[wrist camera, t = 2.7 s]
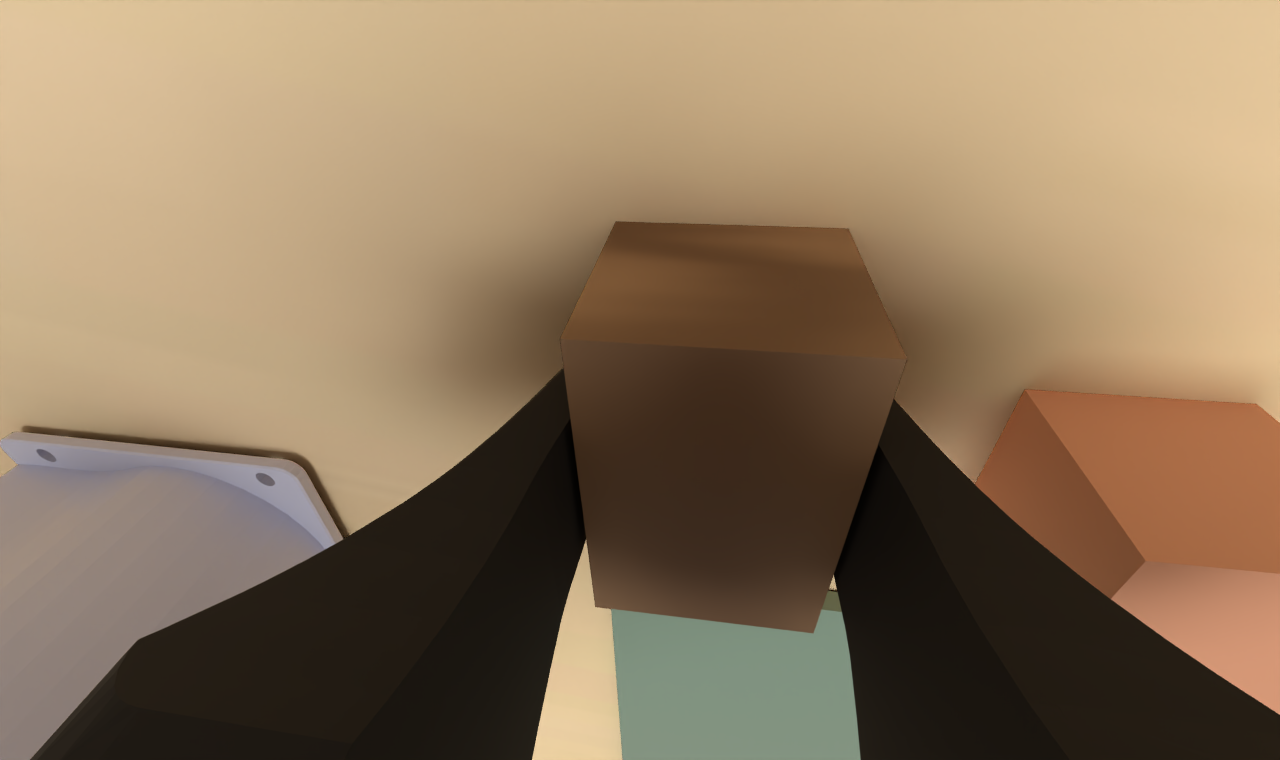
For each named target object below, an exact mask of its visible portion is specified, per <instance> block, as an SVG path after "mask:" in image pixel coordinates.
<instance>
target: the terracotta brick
mask: <svg viewBox="0 0 1280 760" xmlns="http://www.w3.org/2000/svg"><path fill="white" fill-rule="evenodd" d="M975 485H976V486H977V487H978V488H979V489H980V490H981V491H982V492H983V493H984V494H985V495H986V496H988V497H989V498H990V499H991V500H992V501H993V502H994V503H995V504H996V505H997V506H998V507H999V508H1000V509H1002V510H1003V511H1004V512H1005V513H1006V514H1007V515H1008V516H1009V517H1010V518H1011V519H1012V520H1014V521H1015V522H1016V523H1017V524H1018V525H1019V526H1020V527H1022V528H1023V529H1024V530H1025V531H1026V532H1027V533H1028V534H1030V535H1031V536H1032V537H1033V538H1034V539H1036V540H1037V541H1038V542H1039V543H1040V544H1042V545H1043V546H1044V547H1045V548H1047V549H1048V550H1049V551H1050V552H1051V553H1053V554H1054V555H1055V556H1056V557H1058V558H1059V559H1060V560H1061V561H1062V562H1064V563H1065V564H1066V565H1067V566H1069V567H1070V568H1071V569H1072V570H1074V571H1075V572H1076V573H1077V574H1078V575H1080V576H1081V577H1082V578H1084V579H1085V580H1086V581H1088V582H1089V583H1090V584H1091V585H1093V586H1094V587H1095V588H1097V589H1098V590H1099V591H1101V592H1102V593H1103V594H1105V595H1106V596H1107V597H1108V598H1110V599H1111V600H1113V601H1114V602H1115V603H1117V604H1118V605H1119V606H1121V607H1122V608H1124V609H1125V610H1126V611H1128V612H1129V613H1131V614H1132V615H1133V616H1135V617H1136V618H1137V619H1139V620H1140V621H1142V622H1143V623H1144V624H1146V625H1147V626H1149V627H1150V628H1151V629H1153V630H1154V631H1155V632H1157V633H1158V634H1160V635H1161V636H1162V637H1164V638H1165V639H1166V640H1168V641H1169V642H1171V643H1172V644H1174V645H1175V646H1177V647H1178V648H1179V649H1181V650H1182V651H1184V652H1185V653H1187V654H1188V655H1190V656H1191V657H1193V658H1194V659H1196V660H1197V661H1199V662H1200V663H1202V664H1203V665H1205V666H1206V667H1207V668H1209V669H1210V670H1212V671H1213V672H1215V673H1216V674H1218V675H1219V676H1221V677H1222V678H1224V679H1225V680H1227V681H1228V682H1230V683H1232V684H1233V685H1235V686H1236V687H1238V688H1239V689H1241V690H1242V691H1244V692H1245V693H1247V694H1249V695H1250V696H1252V697H1253V698H1255V699H1256V700H1258V701H1259V702H1261V703H1262V704H1264V705H1266V706H1267V707H1269V708H1270V709H1272V710H1273V711H1275V712H1276V713H1278V714H1279V715H1280V423H1279V422H1278V421H1277V420H1275V419H1274V418H1273V417H1272V416H1270V415H1269V414H1268V413H1267V412H1266V411H1264V410H1263V409H1262V408H1261V407H1259V406H1258V405H1257V404H1245V403H1229V402H1214V401H1198V400H1182V399H1167V398H1151V397H1135V396H1120V395H1104V394H1088V393H1073V392H1057V391H1041V390H1026V389H1025V390H1024V392H1023V394H1022V396H1021V398H1020V399H1019V401H1018V403H1017V405H1016V407H1015V409H1014V411H1013V413H1012V415H1011V417H1010V418H1009V420H1008V422H1007V424H1006V426H1005V428H1004V430H1003V432H1002V434H1001V436H1000V438H999V439H998V441H997V443H996V445H995V447H994V449H993V451H992V453H991V455H990V457H989V458H988V460H987V462H986V464H985V466H984V468H983V470H982V472H981V474H980V476H979V478H978V479H977V481H976V483H975Z"/></svg>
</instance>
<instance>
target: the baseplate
mask: <svg viewBox="0 0 1280 760" xmlns="http://www.w3.org/2000/svg"><path fill="white" fill-rule="evenodd" d="M611 612H612V625H613V639H614V652H615V665H616V678H617V692H618V705H619V718H620V731H621V744H622V758H623V760H861V758H860V748H859V737H858V726H857V716H856V707H855V698H854V689H853V679H852V670H851V661H850V654H849V648H848V642H847V636H846V630H845V625H844V620H843V615H842V611H841V606H840V601H839V597H838V592H834V591H828V592H827V595H826V598H825V601H824V604H823V607H822V610H821V613H820V616H819V619H818V622H817V625H816V628H815V630H814V633H805V632H797V631H789V630H781V629H773V628H764V627H756V626H748V625H740V624H731V623H723V622H715V621H707V620H699V619H690V618H682V617H674V616H666V615H657V614H649V613H641V612H633V611H625V610H616V609H611Z"/></svg>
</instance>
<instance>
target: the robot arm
mask: <svg viewBox="0 0 1280 760" xmlns="http://www.w3.org/2000/svg"><path fill="white" fill-rule="evenodd" d="M0 447H1V448H2V449H3V451H4V452H5V453H6V454H7V455H8V456H9V457H10V458H12V459H13V460H14V461H15V462H16V463H17V464H18V465H17V466H16V467H14V468H13V469H11V470H10V471H8V472H7V473H5V474H4V475H3V476H1V477H0V760H532V756H533V751H534V746H535V741H536V736H537V731H538V726H539V721H540V716H541V711H542V707H543V702H544V697H545V692H546V687H547V683H548V678H549V673H550V668H551V664H552V659H553V655H554V650H555V646H556V641H557V637H558V632H559V628H560V623H561V619H562V615H563V611H564V607H565V604H566V600H567V597H568V593H569V590H570V587H571V584H572V581H573V578H574V575H575V571H576V568H577V565H578V562H579V559H580V556H581V553H582V550H583V547H584V544H585V541H586V532H585V525H584V517H583V510H582V502H581V495H580V487H579V479H578V472H577V464H576V457H575V449H574V442H573V434H572V427H571V419H570V412H569V404H568V396H567V389H566V381H565V374H564V367H563V368H562V369H561V370H560V371H559V372H558V373H557V374H556V375H555V376H554V377H553V378H552V379H551V380H550V381H549V382H548V383H547V384H546V385H545V386H544V387H543V388H542V389H541V390H540V391H539V392H538V393H537V394H536V395H535V396H534V397H533V398H532V399H531V400H530V401H529V402H528V403H527V404H526V405H525V406H524V407H523V408H522V409H521V410H520V411H518V412H517V413H516V414H515V415H514V416H513V417H512V418H511V419H510V420H509V421H508V422H507V423H506V424H505V425H503V426H502V427H501V428H500V429H499V430H498V431H497V432H495V433H494V434H493V435H492V436H491V437H489V438H488V439H487V440H486V441H485V442H484V443H482V444H481V445H480V446H479V447H478V448H476V449H475V450H474V451H473V452H472V453H470V454H469V455H468V456H467V457H466V458H464V459H463V460H462V461H461V462H459V463H458V464H457V465H455V466H454V467H453V468H452V469H450V470H449V471H448V472H446V473H445V474H444V475H442V476H441V477H440V478H438V479H437V480H435V481H434V482H433V483H431V484H430V485H428V486H427V487H426V488H424V489H423V490H421V491H420V492H418V493H417V494H416V495H414V496H413V497H411V498H410V499H408V500H407V501H405V502H404V503H402V504H400V505H399V506H397V507H395V508H394V509H392V510H391V511H389V512H387V513H386V514H384V515H382V516H381V517H379V518H378V519H376V520H374V521H373V522H371V523H369V524H368V525H366V526H364V527H363V528H361V529H360V530H358V531H356V532H355V533H353V534H351V535H350V536H348V537H347V538H345V539H343V537H342V535H341V534H340V532H339V530H338V528H337V526H336V525H335V523H334V521H333V519H332V517H331V516H330V514H329V512H328V510H327V509H326V507H325V505H324V503H323V501H322V500H321V498H320V496H319V494H318V492H317V491H316V489H315V487H314V485H313V483H312V482H311V480H310V478H309V476H308V474H307V473H306V471H305V470H304V469H303V468H302V467H301V466H300V465H298V464H297V463H295V462H293V461H290V460H286V459H277V458H267V457H258V456H248V455H239V454H229V453H219V452H210V451H200V450H190V449H181V448H171V447H162V446H152V445H142V444H133V443H123V442H113V441H104V440H94V439H85V438H75V437H65V436H56V435H46V434H36V433H27V432H12V433H11V434H9V435H7V436H6V437H4V438H3V439H1V440H0ZM834 578H835V582H836V587H837V592H838V597H839V601H840V606H841V611H842V615H843V620H844V625H845V630H846V636H847V642H848V648H849V654H850V661H851V670H852V679H853V689H854V698H855V707H856V716H857V726H858V737H859V748H860V758H861V760H1280V715H1279V714H1278V713H1276V712H1275V711H1273V710H1272V709H1270V708H1269V707H1267V706H1266V705H1264V704H1262V703H1261V702H1259V701H1258V700H1256V699H1255V698H1253V697H1252V696H1250V695H1249V694H1247V693H1245V692H1244V691H1242V690H1241V689H1239V688H1238V687H1236V686H1235V685H1233V684H1232V683H1230V682H1228V681H1227V680H1225V679H1224V678H1222V677H1221V676H1219V675H1218V674H1216V673H1215V672H1213V671H1212V670H1210V669H1209V668H1207V667H1206V666H1205V665H1203V664H1202V663H1200V662H1199V661H1197V660H1196V659H1194V658H1193V657H1191V656H1190V655H1188V654H1187V653H1185V652H1184V651H1182V650H1181V649H1179V648H1178V647H1177V646H1175V645H1174V644H1172V643H1171V642H1169V641H1168V640H1166V639H1165V638H1164V637H1162V636H1161V635H1160V634H1158V633H1157V632H1155V631H1154V630H1153V629H1151V628H1150V627H1149V626H1147V625H1146V624H1144V623H1143V622H1142V621H1140V620H1139V619H1137V618H1136V617H1135V616H1133V615H1132V614H1131V613H1129V612H1128V611H1126V610H1125V609H1124V608H1122V607H1121V606H1119V605H1118V604H1117V603H1115V602H1114V601H1113V600H1111V599H1110V598H1108V597H1107V596H1106V595H1105V594H1103V593H1102V592H1101V591H1099V590H1098V589H1097V588H1095V587H1094V586H1093V585H1091V584H1090V583H1089V582H1088V581H1086V580H1085V579H1084V578H1082V577H1081V576H1080V575H1078V574H1077V573H1076V572H1075V571H1074V570H1072V569H1071V568H1070V567H1069V566H1067V565H1066V564H1065V563H1064V562H1062V561H1061V560H1060V559H1059V558H1058V557H1056V556H1055V555H1054V554H1053V553H1051V552H1050V551H1049V550H1048V549H1047V548H1045V547H1044V546H1043V545H1042V544H1040V543H1039V542H1038V541H1037V540H1036V539H1034V538H1033V537H1032V536H1031V535H1030V534H1028V533H1027V532H1026V531H1025V530H1024V529H1023V528H1022V527H1020V526H1019V525H1018V524H1017V523H1016V522H1015V521H1014V520H1012V519H1011V518H1010V517H1009V516H1008V515H1007V514H1006V513H1005V512H1004V511H1003V510H1002V509H1000V508H999V507H998V506H997V505H996V504H995V503H994V502H993V501H992V500H991V499H990V498H989V497H988V496H986V495H985V494H984V493H983V492H982V491H981V490H980V489H979V488H978V487H977V486H976V485H975V484H974V483H973V482H972V481H971V480H970V479H969V478H968V477H967V476H966V475H965V474H964V473H963V472H962V471H961V470H959V469H958V467H957V466H956V465H955V464H954V463H953V462H952V461H951V460H950V459H949V458H948V457H947V456H946V455H945V454H944V453H943V452H942V451H941V450H940V449H939V448H938V447H937V446H936V445H935V444H934V443H933V442H932V441H931V439H930V438H929V437H928V436H927V435H926V434H925V433H924V432H923V431H922V430H921V429H920V428H919V427H918V425H917V424H916V423H915V422H914V421H913V420H912V419H911V418H910V417H909V416H908V414H907V413H906V412H905V411H904V410H903V409H902V408H901V407H900V406H899V404H898V403H897V402H896V401H895V400H894V399H893V402H892V405H891V408H890V411H889V414H888V417H887V420H886V423H885V426H884V428H883V431H882V434H881V437H880V440H879V443H878V446H877V449H876V452H875V455H874V458H873V461H872V464H871V467H870V469H869V472H868V475H867V478H866V481H865V484H864V487H863V490H862V493H861V496H860V499H859V502H858V505H857V508H856V510H855V513H854V516H853V519H852V522H851V525H850V528H849V531H848V534H847V537H846V540H845V543H844V546H843V548H842V551H841V554H840V557H839V560H838V563H837V566H836V569H835V572H834Z"/></svg>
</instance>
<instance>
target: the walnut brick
mask: <svg viewBox="0 0 1280 760" xmlns="http://www.w3.org/2000/svg"><path fill="white" fill-rule="evenodd" d="M560 344H561V351H562V359H563V366H564V374H565V381H566V389H567V396H568V404H569V412H570V419H571V427H572V434H573V442H574V449H575V457H576V464H577V472H578V479H579V487H580V495H581V502H582V510H583V517H584V525H585V532H586V540H587V547H588V555H589V562H590V570H591V578H592V585H593V593H594V600H595V607H600V608H608V609H616V610H625V611H633V612H641V613H649V614H657V615H666V616H674V617H682V618H690V619H699V620H707V621H715V622H723V623H731V624H740V625H748V626H756V627H764V628H773V629H781V630H789V631H797V632H805V633H814V630H815V628H816V625H817V622H818V619H819V616H820V613H821V610H822V607H823V604H824V601H825V598H826V595H827V592H828V589H829V587H830V584H831V581H832V578H833V575H834V572H835V569H836V566H837V563H838V560H839V557H840V554H841V551H842V548H843V546H844V543H845V540H846V537H847V534H848V531H849V528H850V525H851V522H852V519H853V516H854V513H855V510H856V508H857V505H858V502H859V499H860V496H861V493H862V490H863V487H864V484H865V481H866V478H867V475H868V472H869V469H870V467H871V464H872V461H873V458H874V455H875V452H876V449H877V446H878V443H879V440H880V437H881V434H882V431H883V428H884V426H885V423H886V420H887V417H888V414H889V411H890V408H891V405H892V402H893V399H894V396H895V393H896V390H897V388H898V385H899V382H900V379H901V376H902V373H903V370H904V367H905V364H906V361H907V358H906V356H905V354H904V351H903V349H902V347H901V345H900V343H899V340H898V338H897V336H896V334H895V331H894V329H893V327H892V325H891V323H890V320H889V318H888V316H887V314H886V311H885V309H884V307H883V305H882V303H881V300H880V298H879V296H878V294H877V291H876V289H875V287H874V285H873V283H872V280H871V278H870V276H869V274H868V271H867V269H866V267H865V265H864V263H863V260H862V258H861V256H860V254H859V251H858V249H857V247H856V245H855V243H854V240H853V238H852V236H851V234H850V231H849V229H841V228H809V227H776V226H743V225H711V224H678V223H646V222H615V225H614V227H613V229H612V231H611V233H610V235H609V237H608V239H607V241H606V243H605V245H604V248H603V250H602V252H601V254H600V256H599V258H598V260H597V262H596V264H595V266H594V269H593V271H592V273H591V275H590V277H589V279H588V281H587V283H586V285H585V287H584V289H583V292H582V294H581V296H580V298H579V300H578V302H577V304H576V306H575V308H574V310H573V313H572V315H571V317H570V319H569V321H568V323H567V325H566V327H565V329H564V331H563V334H562V336H561V338H560Z"/></svg>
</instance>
